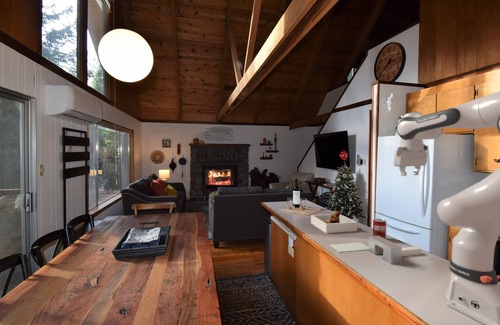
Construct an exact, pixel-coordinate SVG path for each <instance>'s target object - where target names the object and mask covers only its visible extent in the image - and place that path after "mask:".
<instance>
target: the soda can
mask: <svg viewBox="0 0 500 325" xmlns="http://www.w3.org/2000/svg"><path fill="white" fill-rule="evenodd" d="M372 236H380V237H382V238H385V239H387V220H385V219H383V218H374V219H373V220H372Z"/></svg>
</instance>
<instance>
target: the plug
mask: <svg viewBox="0 0 500 325" xmlns="http://www.w3.org/2000/svg"><path fill="white" fill-rule="evenodd" d="M421 252H422V249H421V248H420V247H417V246H409V247H407V246H406V247H402V254H401V257H406V256H417V255H419V256H420V255H421Z"/></svg>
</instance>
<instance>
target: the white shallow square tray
mask: <svg viewBox="0 0 500 325" xmlns="http://www.w3.org/2000/svg"><path fill="white" fill-rule="evenodd" d="M331 215H332V213H329V214H328V213H327V214H311V215H310V224H312V225H313V226H314V227H316V228H318V229H319V230H321V231H322V232H324V234H336V233H347V232H349V233H350V232H358V226H359V224H358V222H357V221H356V220H354V219H352V218H350V217H347V216H344V214H343V215H342V214H341V213H340V216H339V219H340V223H332V224H326V223H325V221H326V220H328V219H329V218H330V217H331Z"/></svg>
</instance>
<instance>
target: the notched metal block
mask: <svg viewBox="0 0 500 325" xmlns="http://www.w3.org/2000/svg"><path fill="white" fill-rule="evenodd" d="M368 247H369V248H368V250H367V251H368V252H370V253H371V254H373V255H382V260H383V261H385V262H386V263H388V264H390V265H392V264H393V265H394V264H401V263H402V256H401V254H402V248H403V247H402V246H401V245H399V244H397V243H395V242H393V241H391V240H388V239H387V238H386V239H385V238H382V237H380V236H373V235H370V236H368Z"/></svg>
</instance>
